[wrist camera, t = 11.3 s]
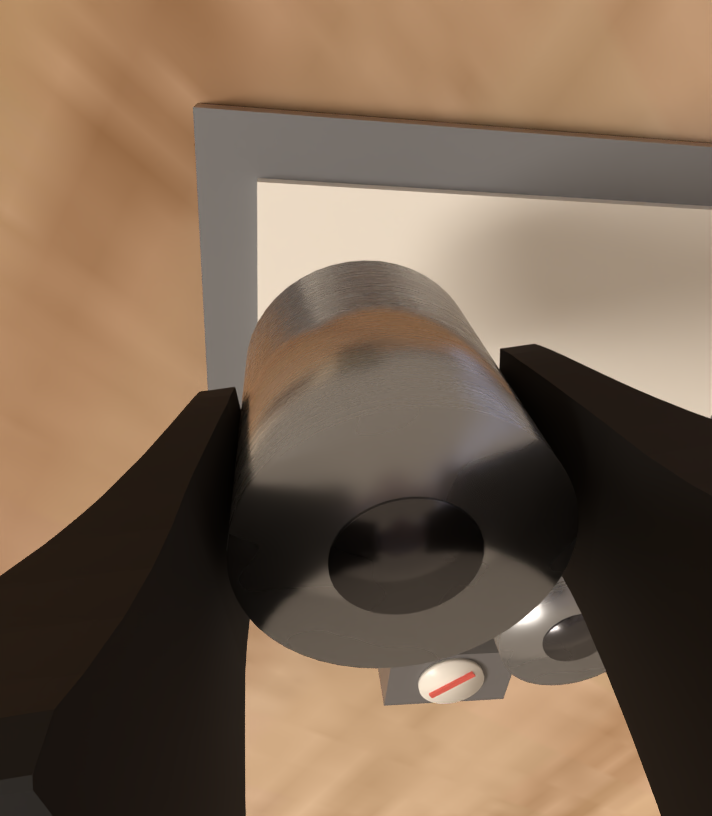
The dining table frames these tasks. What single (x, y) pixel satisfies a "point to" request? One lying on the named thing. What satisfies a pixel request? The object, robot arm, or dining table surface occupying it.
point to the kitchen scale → (467, 256)
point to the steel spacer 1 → (387, 477)
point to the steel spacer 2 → (551, 643)
